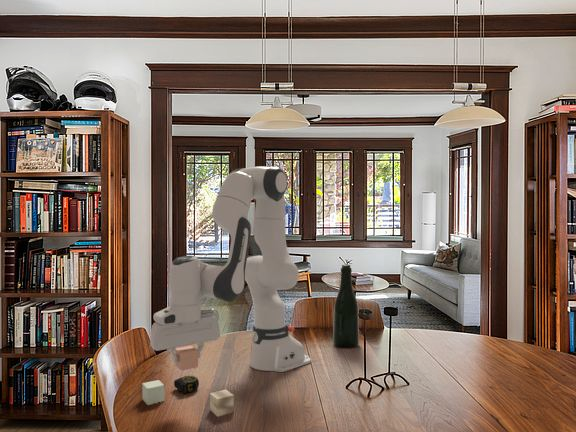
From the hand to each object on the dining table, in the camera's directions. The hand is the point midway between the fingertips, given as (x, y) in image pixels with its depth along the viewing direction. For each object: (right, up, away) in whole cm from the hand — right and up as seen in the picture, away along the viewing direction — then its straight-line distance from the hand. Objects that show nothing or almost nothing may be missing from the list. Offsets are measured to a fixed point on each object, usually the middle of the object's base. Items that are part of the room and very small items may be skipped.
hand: (186, 359), depth 144 cm
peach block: (0, -2, 0) cm, 2 cm away
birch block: (+11, -14, -3) cm, 18 cm away
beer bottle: (+53, -11, +58) cm, 80 cm away
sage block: (-11, -14, +4) cm, 18 cm away
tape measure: (-3, -13, +11) cm, 18 cm away
